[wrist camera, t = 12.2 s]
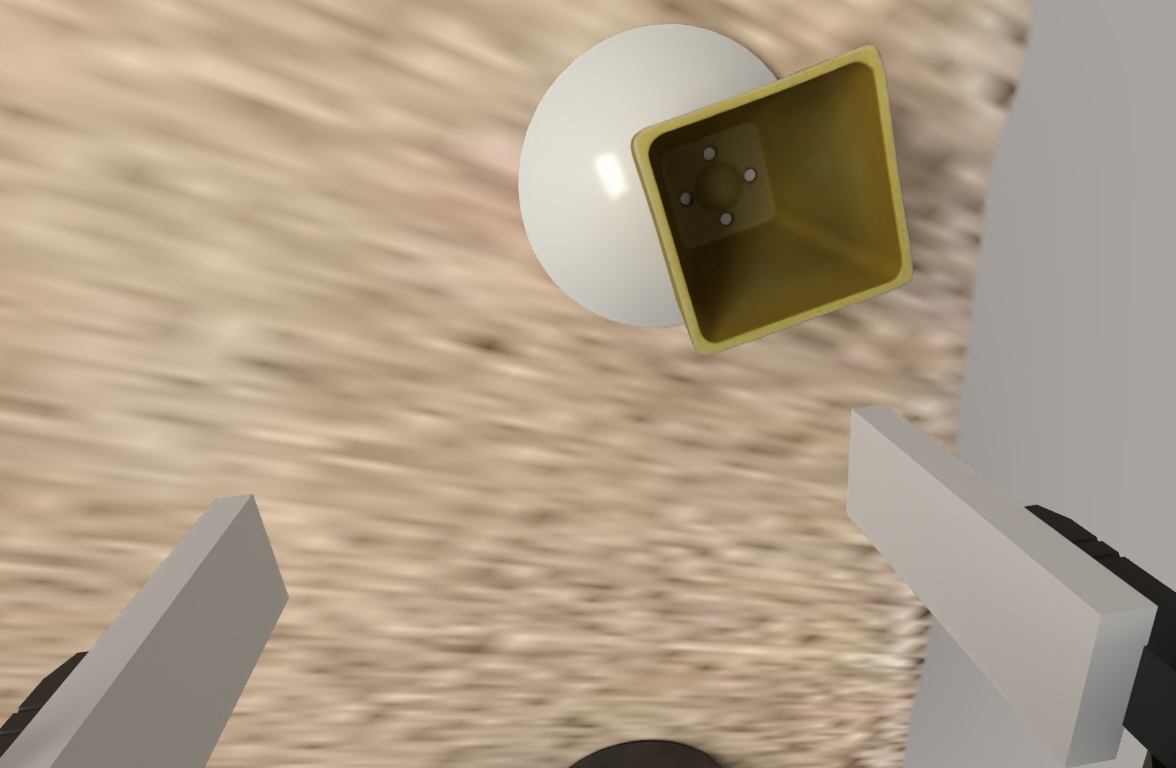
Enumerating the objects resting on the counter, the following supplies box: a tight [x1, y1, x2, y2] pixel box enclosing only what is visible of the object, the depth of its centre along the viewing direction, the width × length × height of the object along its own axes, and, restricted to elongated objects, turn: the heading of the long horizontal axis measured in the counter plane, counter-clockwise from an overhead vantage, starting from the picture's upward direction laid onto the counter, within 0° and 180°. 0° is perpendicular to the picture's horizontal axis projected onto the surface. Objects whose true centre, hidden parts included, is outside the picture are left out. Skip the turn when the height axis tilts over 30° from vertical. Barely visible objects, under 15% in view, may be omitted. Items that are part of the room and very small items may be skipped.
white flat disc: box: [519, 24, 777, 327], centre depth 32 cm, size 14×14×1 cm
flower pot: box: [630, 45, 913, 355], centre depth 27 cm, size 9×9×9 cm
